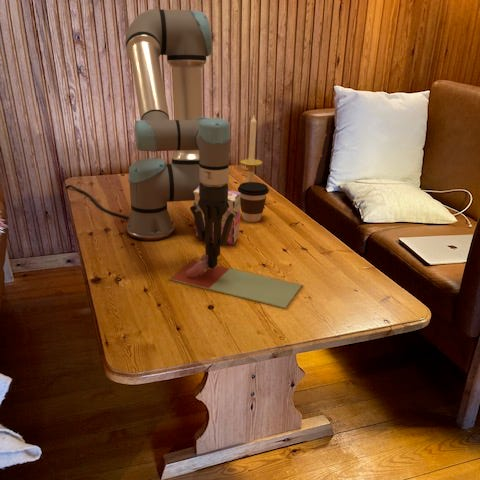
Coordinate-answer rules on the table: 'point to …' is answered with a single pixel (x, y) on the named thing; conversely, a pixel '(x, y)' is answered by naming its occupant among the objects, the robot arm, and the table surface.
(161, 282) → the table surface
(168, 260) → the table surface
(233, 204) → the candy box
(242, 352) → the table surface
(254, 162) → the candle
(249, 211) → the coffee cup
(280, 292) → the placemat
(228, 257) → the table surface
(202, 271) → the video game controller
